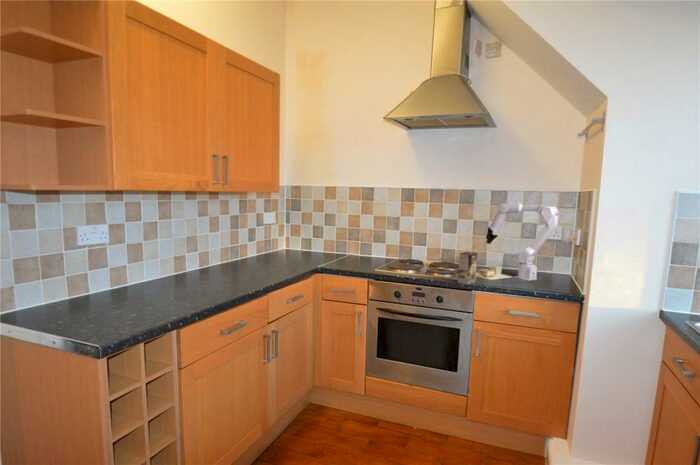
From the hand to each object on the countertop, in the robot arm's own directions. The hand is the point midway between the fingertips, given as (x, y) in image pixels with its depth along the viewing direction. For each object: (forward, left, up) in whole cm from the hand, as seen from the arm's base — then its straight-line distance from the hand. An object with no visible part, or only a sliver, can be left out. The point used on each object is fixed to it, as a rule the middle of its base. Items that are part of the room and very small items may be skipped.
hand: (487, 241), depth 248 cm
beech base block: (-12, +13, -18) cm, 25 cm away
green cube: (-9, +2, -18) cm, 20 cm away
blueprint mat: (-11, +8, -19) cm, 23 cm away
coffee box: (-17, +34, -19) cm, 42 cm away
